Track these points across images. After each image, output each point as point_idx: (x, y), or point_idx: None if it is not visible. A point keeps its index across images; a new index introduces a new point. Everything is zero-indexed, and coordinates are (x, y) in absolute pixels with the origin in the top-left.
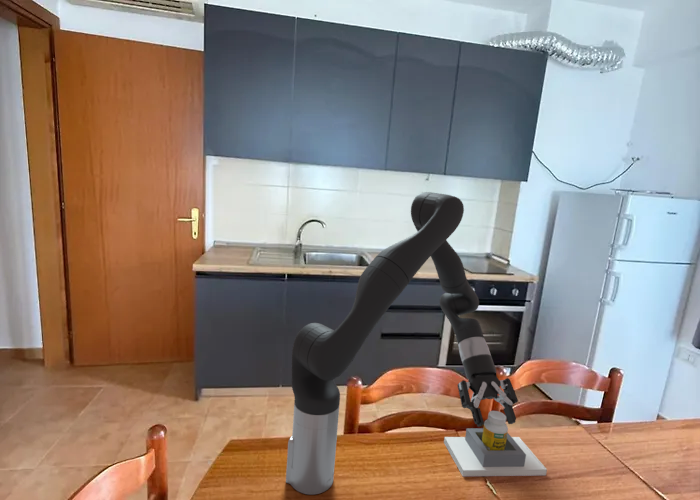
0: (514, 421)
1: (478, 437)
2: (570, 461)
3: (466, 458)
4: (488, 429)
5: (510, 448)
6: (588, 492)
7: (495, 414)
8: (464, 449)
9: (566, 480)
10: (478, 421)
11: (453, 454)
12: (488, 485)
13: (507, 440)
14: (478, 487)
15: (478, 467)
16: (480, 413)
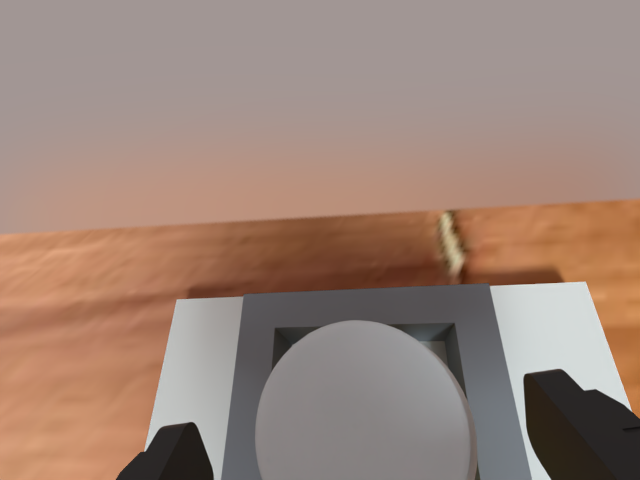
0: (175, 424)
1: (481, 475)
2: (16, 395)
3: None
4: (456, 380)
5: None
6: (114, 235)
7: (377, 442)
8: None
9: (135, 284)
10: (599, 399)
11: None
12: (459, 248)
13: None
14: (506, 237)
15: (497, 303)
16: (615, 455)
